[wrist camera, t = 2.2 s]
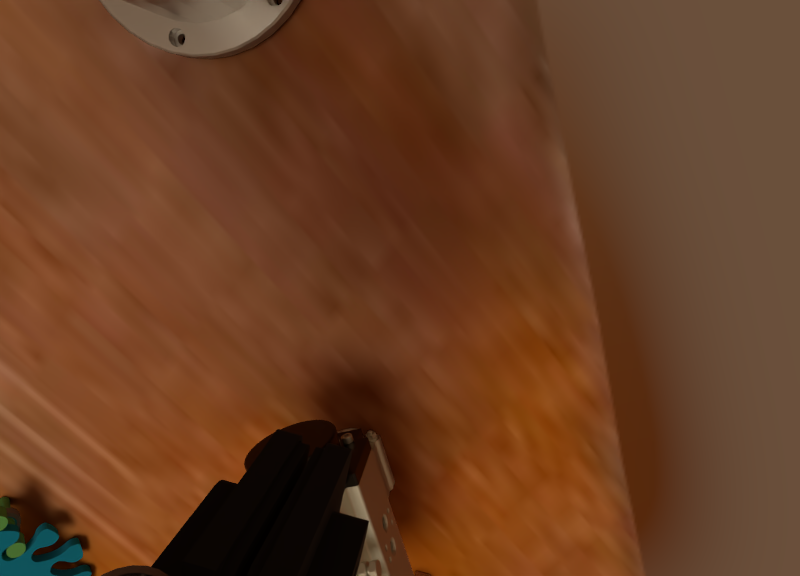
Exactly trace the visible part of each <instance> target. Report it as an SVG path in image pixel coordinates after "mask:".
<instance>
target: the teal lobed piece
mask: <svg viewBox="0 0 800 576" xmlns="http://www.w3.org/2000/svg"><path fill="white" fill-rule="evenodd" d="M20 524H21V518H20V513H19V511H18V510H16V509H14V508H11V506H10V500H9V498H8V497H2V498H0V576H91V574H92V572H91V569H90V566H88V565H80V566H78V567H75V568H72V569H67V570H61V569H55V568H51V567H52V565H53V564H55V563H56V562H58V561H66V562H76V561H78V560H80V559H81V558H82V557H83V551H82V548H81V544H80V541H79V539H78V538H72V539H70V540H68V541H67V542H66V543H65V544H64V545H62V546H61V547H59V548H58V549H56V550H54V551H52V552H49V553H45V554H41V555H33V552H34V551H35V550H37V549H39V548H42V547H47V546H50V545H52V544H54V543H55V542H56V541H57V540H58V538H59V534H58V530H57V529H56V528H55V527H54V526H53V525H51V524H49V523H46V522H45V523H42V524H41V525H40V526H39V527H38V528H37V529H36V531H35V534H34V535H33V537H32V538H31V539H30V541H29V542H28V543H26V544H25V539H24V534H23V533H21V532H20Z"/></svg>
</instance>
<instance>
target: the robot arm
mask: <svg viewBox="0 0 800 576" xmlns="http://www.w3.org/2000/svg"><path fill="white" fill-rule="evenodd" d="M99 1H100V2H101V3H102V5H103V6H104V7H105V8H106V10H107V11H108V12H109V14H110V15H111V16H112V17H113V18H114V19H115V20H116V21H117V22H119V23H120V24H121V25H122V26H123V27H124V28H125V29H126V30H127V31H128V32H130V33H131V34H133V35H134V36H136V37H138V38H139V39H141V40H142V41H144V42H146V43H147V44H149V45H151V46H154V47H156V48H159V49H161V50H164V51H167V52H169V53H172V54H176V55H180V56H185V57H189V58H203V59H214V58H221V57H227V56H233V55H235V54H238V53H240V52H243V51H245V50H248V49H250V48H253V47H255V46H256V45H258V44H259V43H261V42H262V41H264V40H265V39H267V38H268V37H270V36H271V35H273V34H274V33H275V32H276V31H277V29H278V28H279V27H280V26H281V25H282V24H283V23H284V22H285V21H286V20H287V19H288V18H289V17H290V16H291V14H292V13H293V11H294V10H295V8H296V7H297V5H298V4H299V2H300V0H283V1H282V3H281V4H280V5H277V0H99ZM184 36H185V41H184V44H183V43H182V38H183V37H184ZM302 442H303V437H302V435H298V434H294V433H290V432H287V431H283V430H279V429H278V430H276V432H275V433H274V434H273V436H272V437H271V438H270V440H269V441H268V443H267V444H266V445H265V447H264V448H263V449H262V451H261V452H260V454H259V455H258V456H257V458H256V459H255V461H254V462H253V463H252V465H251V466H250V468H249V469H248V470H247V472H246V473H245V475H244V476H243V477H242V479H241V480H240V481H239V483H238V484H236V483H232V482H229V481H225V480H221V481H219V482H218V483H217V484H216V485H215V486H214V487H213V488H212V490H211V491H210V492H209V494H208V495H207V496H206V497H205V499H204V500H203V501H202V503H201V504H200V505H199V506H198V508H197V509H196V510H195V511H194V513H193V514H192V515H191V517H190V518H189V519H188V520H187V522H186V523H185V524H184V526H183V527H182V528H181V529H180V531H179V532H178V533H177V534H176V536H175V537H174V538H173V540H172V541H171V542H170V543H169V545H168V546H167V547H166V549H165V550H164V551H163V552H162V554H161V555H160V556H159V557H158V559H157V560H156V561H155V563H154V564H153V565H152V566H151V567H149V566H134V565H133V566H127V567H122V568H117V569H115V570H112V571H110V572H108V573H105V574H103V575H101V576H356V575H357V571H358V567H359V563H360V559H361V555H362V551H363V547H364V542H365V538H366V534H367V529H368V525H369V521H368V520H364V519H361V518H357V517H353V516H350V515H346V514H343V513H339V512H340V508H341V503H342V498H343V494H344V489H345V484H346V479H347V475H348V470H349V465H350V461H351V456H352V449H350V448H346V447H342V446H339V445H335V444H331V443H327V445H326V446H325V448H324V449H323V448H319V447H316V448H315V450H314V452H313V454H312V455H311V457H310V459H309V461H308V455H309V450H310V445H308V444H305V443H302ZM307 461H308V463H307Z"/></svg>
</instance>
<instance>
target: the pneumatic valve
mask: <svg viewBox="0 0 800 576" xmlns="http://www.w3.org/2000/svg"><path fill="white" fill-rule="evenodd" d="M281 430H283V431H287V432H290V433H294V434H298V435H302V437H303V442H302V443H305V444H308V445H310V450H309V455H308V461H309V459H310V457H311V455H312V454H313V452H314V450H315V448H316V447H319V448H323V449H324V448H325V446H326V445H327V443H331V444H335V445H339V446H342V447H346V448H350V449H352V456H351V461H350V465H349V470H348V475H347V479H346V484H345V489H344V494H343V498H342V503H341V508H340V512H339V513H343V514H346V515H350V516H353V517H357V518H361V519H364V520H368V521H369V525H368V529H367V534H366V538H365V542H364V547H363V551H362V555H361V559H360V563H359V567H358V571H357V575H356V576H414V574H413V571H412V568H411V565H410V562H409V559H408V556H407V553H406V550H405V547H404V544H403V541H402V538H401V535H400V532H399V529H398V526H397V523H396V520H395V517H394V514H393V511H392V508H391V505H390V502H389V499H388V498H389V495H390V491H391V490H392V489H393V488H394V487H393V485H394V484H395V480H394V477H393V474H392V471H391V468H390V465H389V461H388V458H387V455H386V452H385V449H384V446H383V443H382V440H381V437H380V435H377V434H376V433H375V431H372V430H369V431H368V432H367V433H366V438H364V436H363V434H362V431H361V429H357V428H348V429H344V430H341V431H338V432H337V430H336V427H335V426H334V425H333V424H332V423H331V422H328V421H325V420H310V421H304V422H300V423H296V424H293V425H290V426H288V427H285V428H283V429H281ZM274 433H275V432H274ZM274 433H273V434H274ZM273 434H271V435H269V436H267V437H266V438H264V439H263V440H262V441H260V442H259V443H258V444H256V445H255V446H254V447H253V448H252V449H251V451H250V452H249V453H248V455H247V456H246V458H245V462H244V465H245V469H246V471H247V470H248V469H249V468H250V466H251V465H252V463H253V462H254V461H255V459H256V458H257V456H258V455H259V454H260V452H261V451H262V449H263V448H264V447H265V445H266V444H267V443H268V441H269V440H270V438H271V437H272V436H273ZM308 461H307V463H308Z"/></svg>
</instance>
